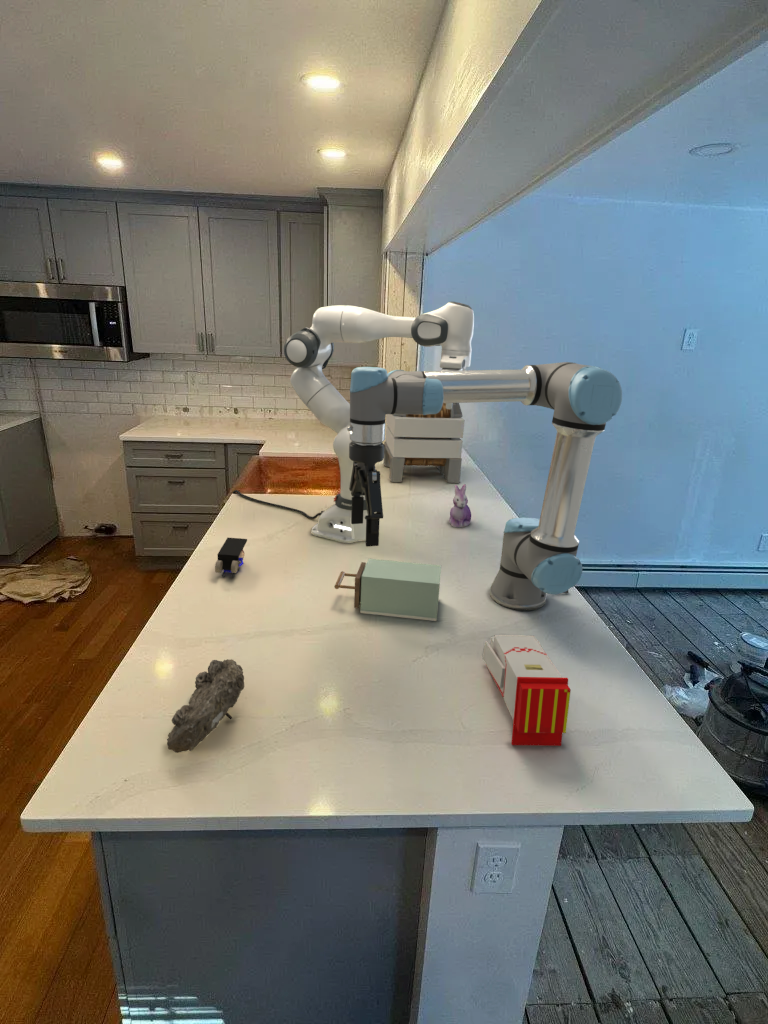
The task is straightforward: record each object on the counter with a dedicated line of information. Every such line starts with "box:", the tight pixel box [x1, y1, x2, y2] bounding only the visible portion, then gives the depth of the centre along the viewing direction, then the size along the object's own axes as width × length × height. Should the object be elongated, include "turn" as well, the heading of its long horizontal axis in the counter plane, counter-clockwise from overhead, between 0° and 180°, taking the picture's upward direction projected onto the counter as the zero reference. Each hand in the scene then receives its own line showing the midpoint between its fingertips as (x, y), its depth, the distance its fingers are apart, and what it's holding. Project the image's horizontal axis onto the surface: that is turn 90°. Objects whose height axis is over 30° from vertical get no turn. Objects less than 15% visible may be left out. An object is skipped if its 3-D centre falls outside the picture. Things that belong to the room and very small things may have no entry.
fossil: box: [166, 658, 245, 754], centre depth 106 cm, size 22×10×15 cm
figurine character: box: [214, 537, 248, 578], centre depth 166 cm, size 7×8×15 cm
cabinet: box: [360, 558, 442, 622], centre depth 150 cm, size 20×11×11 cm, turn 82°
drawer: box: [334, 561, 367, 609], centre depth 150 cm, size 24×10×8 cm, turn 82°
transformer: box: [383, 403, 465, 484], centre depth 268 cm, size 34×33×41 cm
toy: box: [482, 634, 572, 747], centre depth 115 cm, size 12×13×30 cm
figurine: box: [448, 483, 472, 528], centre depth 209 cm, size 9×10×15 cm
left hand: (451, 406), depth 174 cm, fingers open, 8 cm apart
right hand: (364, 534), depth 128 cm, fingers open, 13 cm apart
